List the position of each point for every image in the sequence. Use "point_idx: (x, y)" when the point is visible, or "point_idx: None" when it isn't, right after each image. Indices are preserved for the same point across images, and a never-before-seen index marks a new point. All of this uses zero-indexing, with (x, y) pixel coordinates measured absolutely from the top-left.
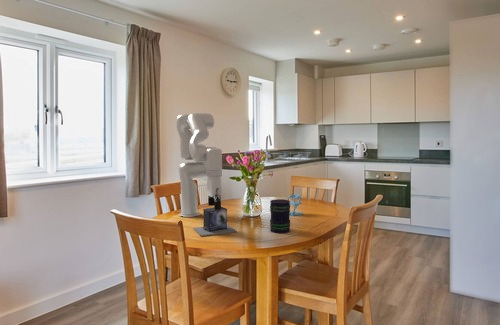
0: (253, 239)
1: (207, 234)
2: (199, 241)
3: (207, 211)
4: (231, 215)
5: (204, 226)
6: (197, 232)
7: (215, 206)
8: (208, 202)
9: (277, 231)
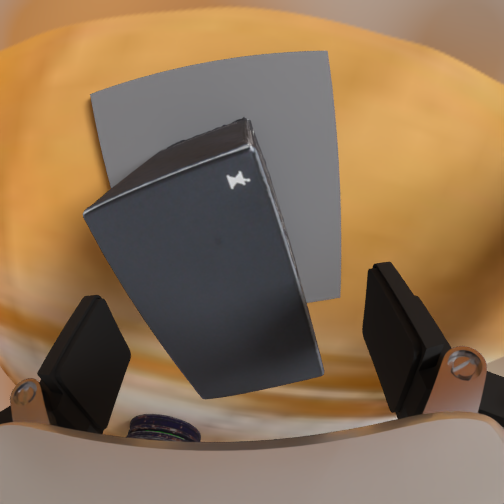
0: (48, 339)
1: (99, 138)
2: (19, 93)
3: (118, 192)
4: (490, 330)
5: (223, 127)
6: (186, 67)
7: (72, 330)
8: (405, 286)
9: (132, 424)
